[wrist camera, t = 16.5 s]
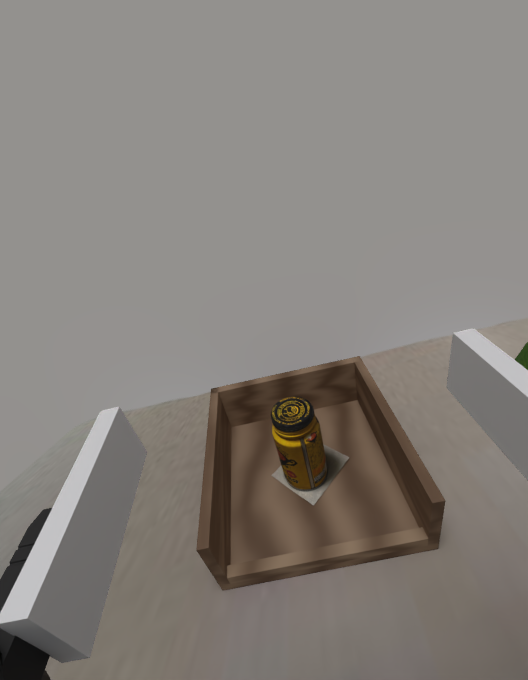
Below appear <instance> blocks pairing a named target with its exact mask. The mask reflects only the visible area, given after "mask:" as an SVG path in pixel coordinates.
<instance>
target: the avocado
mask: <svg viewBox="0 0 528 680" xmlns="http://www.w3.org/2000/svg"><path fill="white" fill-rule="evenodd" d="M515 361H517V362H518V363H519V364H520V365H522V366H523V367H524V368H526V369H527V370H528V342H527V343H526V344H525V346H524V347H523V349H522V350H521V352H520V353H519V355H518V356H517V357H516V359H515Z"/></svg>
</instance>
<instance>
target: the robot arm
mask: <svg viewBox="0 0 528 680" xmlns="http://www.w3.org/2000/svg"><path fill="white" fill-rule="evenodd" d="M447 389H448V390H449V391H450V392H451V393H452V395H453V396H454V397H455V398H456V399H457V400H458V401H459V403H460V404H461V405H462V406H463V407H464V408H465V409H466V411H467V412H468V413H469V414H470V415H471V416H472V417H473V419H474V420H475V421H476V422H477V423H478V424H479V425H480V427H481V428H482V429H483V430H484V431H485V432H486V433H487V435H488V436H489V437H490V438H491V439H492V440H493V441H494V443H495V444H496V445H497V446H498V447H499V448H500V449H501V451H502V452H503V453H504V454H505V455H506V456H507V457H508V459H509V460H510V461H511V462H512V463H513V464H514V465H515V467H516V468H517V469H518V470H519V471H520V472H521V473H522V475H523V476H524V477H525V478H526V479H527V480H528V370H527V369H526V368H524V367H523V366H522V365H520V364H519V363H518V362H517V361H515V360H514V359H513V358H511V357H510V356H509V355H507V354H506V353H505V352H504V351H502V350H501V349H500V348H498V347H497V346H496V345H494V344H493V343H492V342H491V341H489V340H488V339H487V338H485V337H484V336H483V335H481V334H480V333H479V332H478V331H476V330H475V329H474V328H473V329H469V330H464V331H459V332H454V333H453V337H452V345H451V354H450V363H449V371H448V380H447ZM146 455H147V451H146V449H145V447H144V446H143V444H142V442H141V441H140V439H139V438H138V436H137V434H136V433H135V431H134V430H133V428H132V426H131V425H130V423H129V421H128V420H127V418H126V417H125V415H124V413H123V412H122V410H121V409H120V407H115V408H111V409H106V410H102V411H100V413H99V415H98V417H97V419H96V421H95V423H94V425H93V427H92V429H91V431H90V433H89V435H88V437H87V439H86V441H85V443H84V445H83V447H82V449H81V452H80V454H79V456H78V458H77V460H76V462H75V464H74V466H73V468H72V470H71V472H70V474H69V476H68V478H67V480H66V482H65V484H64V486H63V488H62V490H61V492H60V494H59V496H58V498H57V500H56V502H55V504H54V506H53V508H49V509H44V510H43V511H42V512H41V513H40V514H39V515H38V517H37V518H36V519H35V520H34V521H33V522H32V524H31V525H30V526H29V527H28V529H27V531H26V533H25V535H24V536H23V538H22V540H21V542H20V544H19V546H18V550H16V551H15V553H14V555H13V557H12V559H11V561H10V566H8V567H7V568H6V570H5V572H4V574H3V576H2V578H1V579H0V680H50V677H49V675H48V674H47V672H46V671H45V668H46V665H47V662H48V659H49V656H51V657H52V658H54V659H56V660H58V661H59V662H61V663H64V662H70V661H75V660H80V659H86V658H90V655H91V651H92V648H93V644H94V641H95V637H96V633H97V630H98V626H99V623H100V619H101V616H102V612H103V608H104V605H105V601H106V598H107V594H108V591H109V587H110V583H111V580H112V576H113V573H114V569H115V566H116V562H117V558H118V555H119V551H120V548H121V544H122V540H123V537H124V533H125V530H126V526H127V523H128V519H129V515H130V512H131V508H132V505H133V501H134V498H135V494H136V490H137V487H138V483H139V480H140V476H141V473H142V469H143V465H144V462H145V458H146Z"/></svg>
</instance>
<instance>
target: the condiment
mask: <svg viewBox="0 0 528 680" xmlns="http://www.w3.org/2000/svg"><path fill="white" fill-rule="evenodd" d="M271 420H272V424H273V426H272V434H273V439H274V442H275V445H276V448H277V452H278V455H279V459H280V462H281V466H280V467H279V468H278V469H277V470H276V471H275V472H274V473H273V474H272V475H271V476H273V477H274V478H276V479H277V480H278V481H280V482H281V483H282V484H284V485H285V486H286V487H288V488H289V489H290V490H292V491H293V492H295V493H296V494H298V495H299V496H301V497H302V498H304V499H305V500H306V501H308V502H309V503H311V504H312V505H313V506H314V504H315V503H316V502H317V500H318V499H319V498H320V497H321V495H322V494H323V492H324V491H325V490H326V489H327V487H328V486H329V485H330V483H331V482H332V480H333V479H334V477H335V476H336V475H337V474H338V472H339V471H340V470H341V468H342V467H343V466H344V464H345V462H346V461H347V460H348V459H349V457H348V456H346V455H343V454H341V453H339V452H338V451H336V450H334V449H332V448H330V447H328V446H326V445H324V444H323V440H322V434H321V428H320V423H319V421H318V419H317V417H316V416H315V413H314V408H313V406H312V405H311V403H310V402H309V401H308V400H306V399H304V398H303V397H298V396H292V397H287V398H284V399H282V400H280V401H278V402H277V403H276V404H275V405H274V406H273V408H272V411H271Z"/></svg>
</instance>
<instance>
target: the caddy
mask: <svg viewBox="0 0 528 680" xmlns="http://www.w3.org/2000/svg"><path fill="white" fill-rule="evenodd" d="M292 396H298V397H303V398H304V399H306V400H308V401H309V402H310V403H311V405H312V406H313V408H314V413H315V416H316V417H317V419H318V421H319V423H320V428H321V434H322V440H323V444H324V445H326V446H328V447H330V448H332V449H334V450H336V451H338V452H339V453H341V454H343V455H346V456H348V457H349V459H348V460H347V461H346V462H345V464H344V466H343V467H342V468H341V470H340V471H339V472H338V474H337V475H336V476H335V477H334V479H333V480H332V482H331V483H330V485H329V486H328V487H327V489H326V490H325V491H324V492H323V494H322V495H321V497H320V498H319V499H318V500H317V502H316V503H315V504H314V506H313V505H312V504H311V503H309V502H308V501H306V500H305V499H304V498H302V497H301V496H299V495H298V494H296V493H295V492H293V491H292V490H290V489H289V488H288V487H286V486H285V485H284V484H282V483H281V482H280V481H278V480H277V479H276V478H274V477H273V476H271V475H272V474H273V473H274V472H275V471H276V470H277V469H278V468H279V467H280V466H281V462H280V459H279V455H278V452H277V448H276V445H275V442H274V439H273V434H272V426H273V424H272V420H271V411H272V408H273V406H274V405H275V404H276V403H277V402H278V401H280V400H282V399H284V398H287V397H292ZM444 506H445V499H444V498H443V496H442V494H441V493H440V491H439V489H438V487H437V486H436V484H435V482H434V481H433V479H432V477H431V476H430V474H429V472H428V471H427V469H426V467H425V466H424V464H423V462H422V461H421V459H420V457H419V455H418V454H417V452H416V450H415V449H414V447H413V445H412V444H411V442H410V440H409V439H408V437H407V435H406V434H405V432H404V430H403V429H402V427H401V425H400V423H399V422H398V420H397V418H396V417H395V415H394V413H393V412H392V410H391V408H390V407H389V405H388V403H387V402H386V400H385V398H384V397H383V395H382V393H381V391H380V390H379V388H378V386H377V385H376V383H375V381H374V380H373V378H372V376H371V375H370V373H369V371H368V370H367V368H366V366H365V365H364V363H363V361H362V359H361V358H360V356H358V357H353V358H349V359H344V360H340V361H335V362H331V363H327V364H321V365H317V366H312V367H308V368H303V369H299V370H294V371H290V372H285V373H281V374H276V375H272V376H268V377H263V378H258V379H254V380H249V381H245V382H240V383H236V384H231V385H226V386H222V387H218V388H213V389H211V396H210V407H209V418H208V429H207V440H206V451H205V462H204V473H203V484H202V495H201V506H200V517H199V528H198V539H197V552H198V553H199V555H200V556H201V558H202V559H203V561H204V563H205V564H206V566H207V567H208V569H209V570H210V572H211V573H212V575H213V576H214V578H215V579H216V581H217V582H218V584H219V585H220V587H221V588H222V590H228V589H233V588H238V587H243V586H248V585H253V584H259V583H264V582H269V581H274V580H279V579H284V578H290V577H295V576H300V575H305V574H310V573H315V572H321V571H326V570H331V569H336V568H341V567H346V566H352V565H357V564H362V563H367V562H372V561H377V560H383V559H388V558H393V557H398V556H403V555H408V554H414V553H419V552H424V551H429V550H434V549H438V546H439V539H440V532H441V526H442V519H443V513H444Z"/></svg>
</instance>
